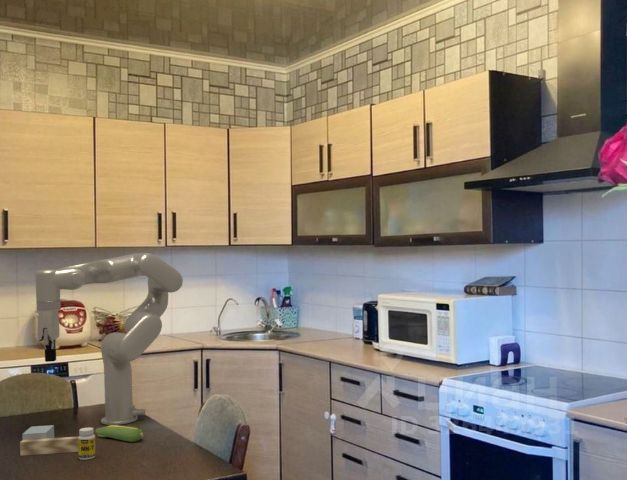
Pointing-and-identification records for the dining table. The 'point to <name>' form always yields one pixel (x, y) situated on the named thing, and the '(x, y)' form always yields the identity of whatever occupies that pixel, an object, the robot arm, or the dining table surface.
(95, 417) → the dining table surface
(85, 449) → the supplement bottle
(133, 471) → the dining table surface
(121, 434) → the edible corn
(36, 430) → the block
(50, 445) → the board
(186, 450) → the dining table surface
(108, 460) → the dining table surface
